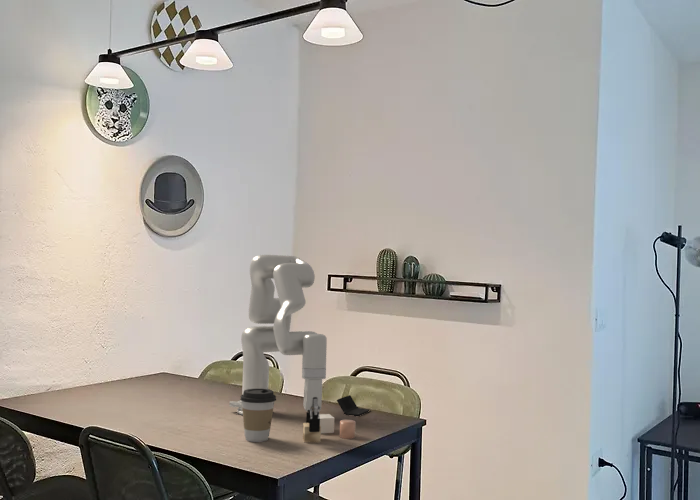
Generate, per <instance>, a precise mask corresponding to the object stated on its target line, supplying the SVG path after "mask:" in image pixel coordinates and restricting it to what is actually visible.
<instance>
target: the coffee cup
mask: <svg viewBox="0 0 700 500" xmlns="http://www.w3.org/2000/svg"><path fill="white" fill-rule="evenodd" d="M239 401H242V410H243V415H242V419H243V428H244V431H243V432H244V437H245V441H247V442H251V443H262V442H266V441H268V440H269V437H270V433H271V427H272V426H271V425H272V419H273V414H274V406H275V402H276V401H277V396H276V395H275V394H274V391H273V389H269V388H268V389H260V388H256V389H247V390H244V393H243V395H242V394H241V395H240V398H239Z"/></svg>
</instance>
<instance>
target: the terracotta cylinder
mask: <svg viewBox="0 0 700 500" xmlns="http://www.w3.org/2000/svg"><path fill="white" fill-rule="evenodd" d="M339 438H341V439H344V440H351V439H355V438H356V421H355V420H352V419H342V420H340V421H339Z"/></svg>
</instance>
